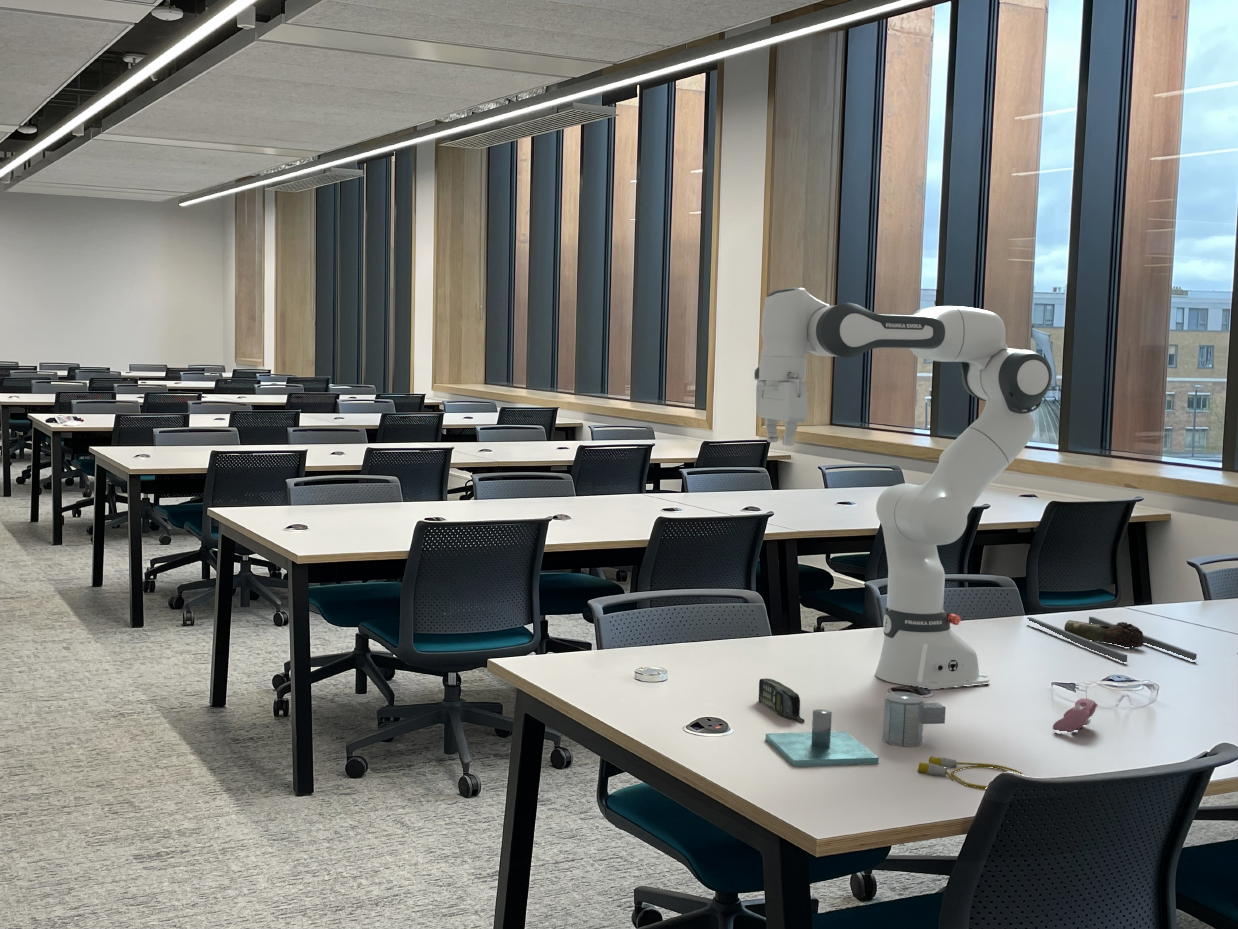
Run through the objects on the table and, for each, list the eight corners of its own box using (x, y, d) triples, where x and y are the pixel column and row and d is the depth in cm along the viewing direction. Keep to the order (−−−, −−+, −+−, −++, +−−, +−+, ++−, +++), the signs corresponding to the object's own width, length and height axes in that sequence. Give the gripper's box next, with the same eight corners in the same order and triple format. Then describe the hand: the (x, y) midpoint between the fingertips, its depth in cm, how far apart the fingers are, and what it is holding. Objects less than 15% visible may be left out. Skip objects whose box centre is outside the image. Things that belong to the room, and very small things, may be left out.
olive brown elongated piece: (1062, 639, 294) (1064, 616, 294) (1075, 636, 299) (1076, 613, 298) (1137, 652, 282) (1139, 628, 281) (1149, 649, 286) (1150, 625, 286)
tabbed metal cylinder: (931, 734, 212) (934, 690, 211) (948, 745, 206) (950, 700, 205) (878, 736, 210) (880, 692, 209) (893, 747, 204) (895, 701, 203)
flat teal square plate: (844, 737, 209) (846, 699, 208) (878, 763, 195) (880, 723, 194) (765, 739, 206) (767, 701, 205) (793, 766, 192) (795, 725, 192)
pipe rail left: (1030, 625, 308) (1031, 617, 308) (1126, 664, 269) (1127, 655, 269) (1026, 625, 308) (1027, 617, 308) (1122, 664, 269) (1123, 655, 269)
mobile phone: (756, 676, 229) (793, 696, 215) (770, 675, 230) (809, 695, 216) (755, 703, 229) (792, 724, 215) (770, 702, 230) (808, 723, 216)
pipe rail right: (1092, 624, 312) (1092, 616, 311) (1196, 662, 273) (1196, 654, 272) (1088, 624, 311) (1089, 616, 311) (1192, 663, 272) (1192, 654, 272)
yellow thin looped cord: (952, 758, 201) (953, 746, 200) (1042, 784, 189) (1043, 771, 189) (909, 773, 192) (910, 760, 192) (1000, 801, 181) (1001, 788, 181)
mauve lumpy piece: (1073, 746, 213) (1094, 714, 211) (1049, 730, 215) (1070, 698, 213) (1085, 733, 221) (1105, 701, 219) (1062, 718, 223) (1082, 686, 221)
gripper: (817, 373, 229) (814, 447, 230) (781, 371, 249) (778, 440, 250) (784, 372, 227) (781, 447, 229) (751, 371, 247) (748, 440, 249)
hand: (780, 443), depth 239 cm, fingers open, 8 cm apart
